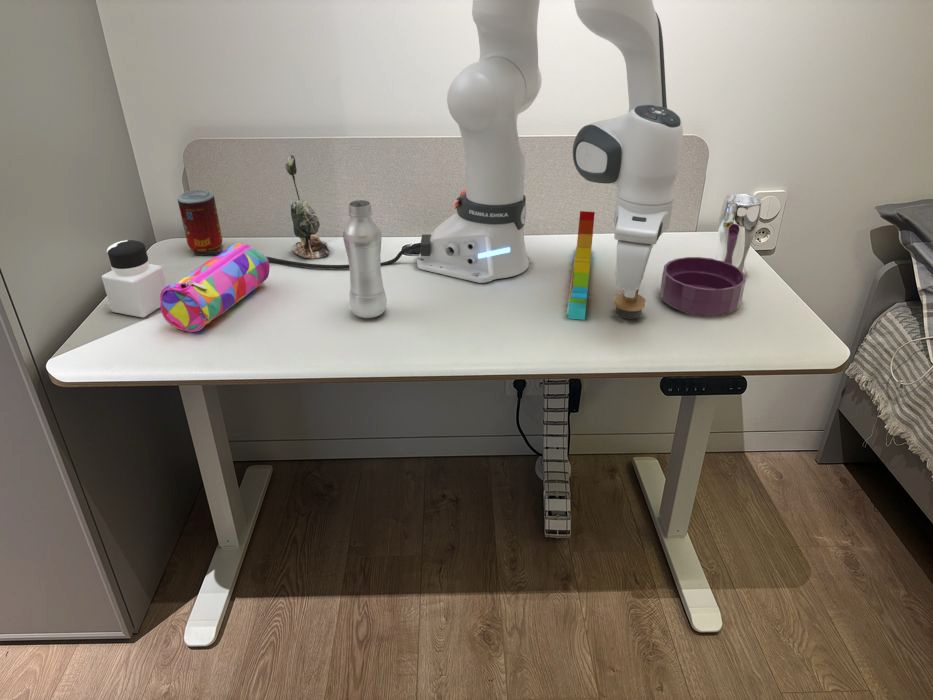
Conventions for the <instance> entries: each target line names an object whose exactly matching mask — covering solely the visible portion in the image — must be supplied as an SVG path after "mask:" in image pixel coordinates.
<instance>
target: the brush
mask: <svg viewBox="0 0 933 700" xmlns="http://www.w3.org/2000/svg"><path fill="white" fill-rule="evenodd" d="M624 292H625V289H623V292H619V293H618V294H616V295H615V296H614V301H613V303H614V306H615V307H614V314H616V315H617V316H619V318H622V319H623V318H624V319H631V320H633V319H638V318H640V317H641V316H642V314H643V309H645V306H646V298H645V297H644V296H642V295H641V294H639V292H640V288H639V289H638V290H636V294H635V297H634V298H629V297H625V296H624Z"/></svg>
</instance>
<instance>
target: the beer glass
mask: <svg viewBox="0 0 933 700" xmlns="http://www.w3.org/2000/svg"><path fill="white" fill-rule="evenodd" d="M762 203H763V200H762V199H761V198H760V197H758V196H756V195H752V194H749V193H748V194H747V193H730V194H727V195H725V196H724V199H723V202H722V206H721V210H720V215H719V220H718V227H717V228H718V229H717V254H716V259H715V260H720V261H724V262H726V263H729V264H732V265H734V266H736V267H737V268H739V269H740V270H742V271H743V273H744V274H745V273H746V261H747V259H746V258H747V257H748V256H747V255H748V253H749V251H750V248H751V245H752V244H753V241H754V238H755V236H756V233H757V230H758V226H759V222H760V217H761V211H762V210H761V209H762ZM745 275H746V274H745Z"/></svg>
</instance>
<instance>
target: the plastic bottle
mask: <svg viewBox="0 0 933 700" xmlns="http://www.w3.org/2000/svg"><path fill="white" fill-rule="evenodd" d="M372 215H373V210H372V203H371V201H369V200H365V199H356V200H352V201H350V202H349V203H348V216H349V217H350V218H349V219H348V221H347V223H346V225H345V227H344V229H343V231H342V233H343V234H342V239H343V243H344V248H345V252H346V255H347V261H348V265H349V268H348V269H349V295H348V296H349V297H348V299H349V300H348V302H349V306H350V310H351V312H352V313H353V314H354V315H355V316H357V317H359V318H362V319H371V318H372V319H373V318H376V317H377V318H378V317H379V316H381V315H382V314H384V312H385V310H386V308H387V302H388V299H387V295H386V290H385V288H384V282H383V276H382V266H381V265H380V263H382V262H381V261H382V260H381V254H382V253H381V251H382V231H381V228H380V227H379V225H378V224H377V222H376V221H375V219H373V218H372Z"/></svg>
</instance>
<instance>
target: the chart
mask: <svg viewBox="0 0 933 700" xmlns="http://www.w3.org/2000/svg"><path fill="white" fill-rule="evenodd" d="M595 214H596V212H595V211H585V210H584V211H583V210H580V211H579V218H578V230H577V239H576V240H577V241H576V246H575V251H574V258H573V264H572V271H571V279H570V285H569V294H568V300H567V306H566V315H567V319H570V320H581V321H585V320H586V314H587V313H586V311H587V301H588V290H589V279H590V269H591V260H592V247H593V236H594V223H595Z"/></svg>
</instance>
